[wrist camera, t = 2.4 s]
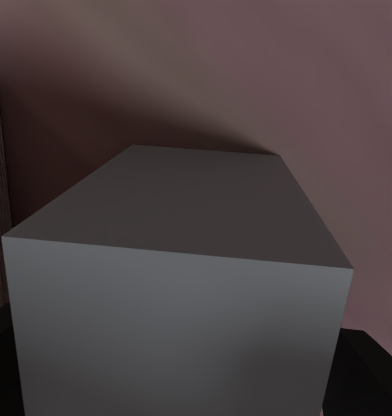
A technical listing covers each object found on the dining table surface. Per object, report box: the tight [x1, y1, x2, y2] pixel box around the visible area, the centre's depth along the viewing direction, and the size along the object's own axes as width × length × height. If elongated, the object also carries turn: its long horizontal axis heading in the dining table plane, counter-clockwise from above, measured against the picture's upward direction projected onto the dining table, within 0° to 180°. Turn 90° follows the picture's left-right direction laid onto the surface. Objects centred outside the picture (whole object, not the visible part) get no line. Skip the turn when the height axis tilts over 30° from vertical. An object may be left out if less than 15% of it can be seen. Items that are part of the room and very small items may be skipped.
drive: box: [1, 144, 354, 416], centre depth 8 cm, size 4×9×6 cm, turn 176°
